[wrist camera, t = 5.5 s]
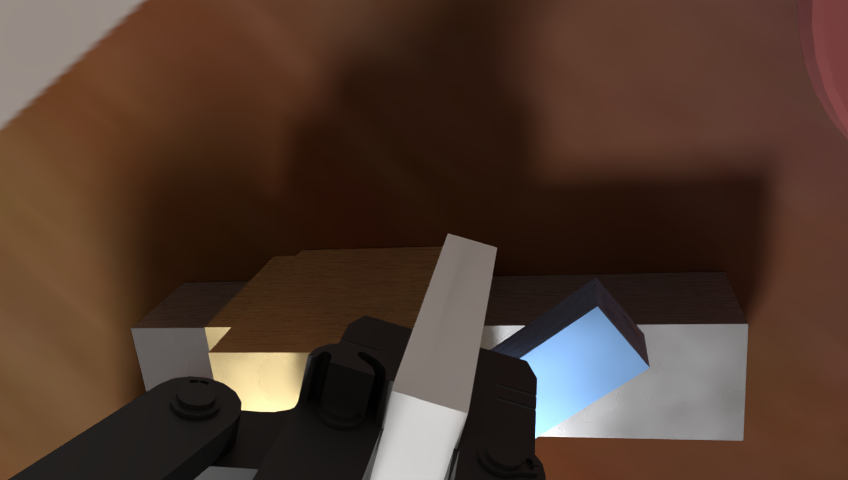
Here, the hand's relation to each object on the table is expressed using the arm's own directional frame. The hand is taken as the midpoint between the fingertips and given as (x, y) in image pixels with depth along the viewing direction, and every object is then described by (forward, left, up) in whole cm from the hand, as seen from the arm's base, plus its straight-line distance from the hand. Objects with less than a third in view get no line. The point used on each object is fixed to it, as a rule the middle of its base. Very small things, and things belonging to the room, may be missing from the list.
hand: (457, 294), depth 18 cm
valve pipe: (-3, -6, -10) cm, 12 cm away
